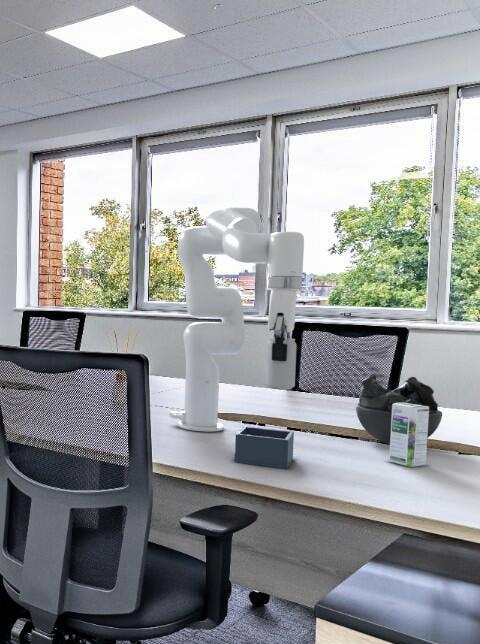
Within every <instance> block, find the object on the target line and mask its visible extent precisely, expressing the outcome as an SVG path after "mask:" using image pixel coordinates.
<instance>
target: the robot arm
mask: <svg viewBox="0 0 480 644" xmlns="http://www.w3.org/2000/svg"><path fill="white" fill-rule="evenodd" d="M261 227H262V218H261V215H260V214H259V212H258V211H257V210H256V209H254V208H251V207H237V206H236V207H233V206H222V207H221V206H220V207H217V208H214V209H212V210H211V211H210V212H209V213H208V214H207V216H206V219H205V225H198V226H190V227H187V228H185V229H183V231H181V233H180V234H179V237H178V242H177V253H178V257H179V261H180V265H181V268H182V270H183V275H184V288H185V289H184V290H185V302H186V310H187V313H188V315H189V316H190V317H192V318H197V319H219V320H220V321H221V322H215V321H212V322H211V321H200V322H193V323H191V324H189V325H187V326H186V328H185V329H184V331H183V345H184V353H185V383H184V384H185V385H184V388H185V389H184V410H182V411H180V412H178V411H172V410H171V411H170V413H169V418H171V419H176V420H180V421H179V422H178V427H179V428H181V429H184V430H187V431H192V432H193V431H194V432H202V433H203V432H205V433H206V432H208V433H209V432H210V433H212V432H213V433H214V432H221V431H223V430H224V425H223V424H222V423H219V395H220V367H219V365H218V364H217V362H216V360H215V358H214V357H213V356H215V355H237V354H240V353H241V352H242V351H243V349H244V347H245V344H246V330H245V316H244V308H243V300H242V296H241V294H240V293H239V291H238V290H237V289H236V288H233V287H229V286H217V285H216V280H215V272H214V269H213V267H212V266H211V264H210V263H209V262H208V261H207V259H205V257H203V256H227V257H228V258H230V259H232V260H233V261H235V262H237V263H241V264H259V265H260V264H261V265H262V264H263V265H267V285H266V286H267V287H266V290H267V291H270V297H269V304H268V305H269V306H268V307H269V308H268V319H267V331H268V332H271V333H272V332H273V337H272V338H273V343H272V360H273V361H286V360H287V344H286V339H287V338H290V339H292V332H293V331H294V329H295V323H296V311H297V310H296V308H297V291H298V292H302V291H303V272H304V271H303V270H304V269H303V268H304V250H305V236H304V235H303V233H301V232H299V231H278V232H277V231H276V232H274V233H270V232H269V233H268V232H260V230H261Z"/></svg>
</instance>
